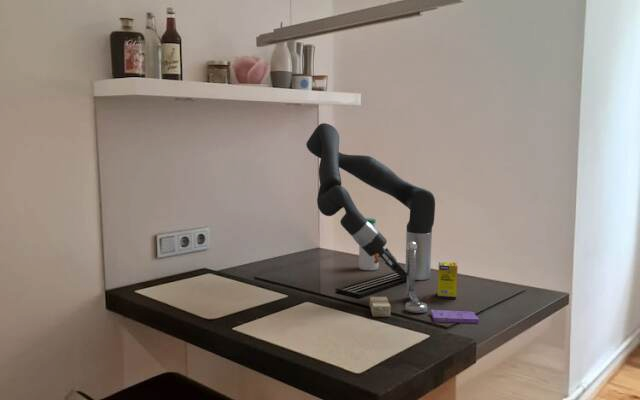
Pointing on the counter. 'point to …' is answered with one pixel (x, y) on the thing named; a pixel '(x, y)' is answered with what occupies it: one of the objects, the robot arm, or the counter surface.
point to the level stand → (380, 306)
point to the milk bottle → (366, 260)
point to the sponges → (454, 316)
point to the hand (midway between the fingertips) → (405, 276)
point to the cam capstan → (413, 282)
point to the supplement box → (447, 280)
